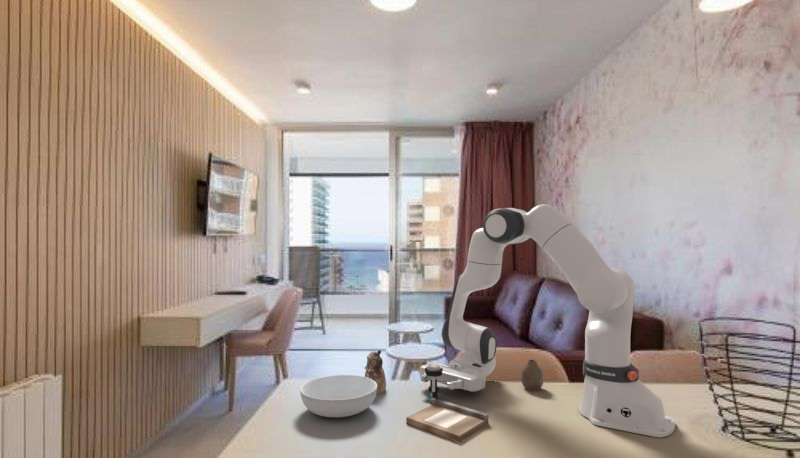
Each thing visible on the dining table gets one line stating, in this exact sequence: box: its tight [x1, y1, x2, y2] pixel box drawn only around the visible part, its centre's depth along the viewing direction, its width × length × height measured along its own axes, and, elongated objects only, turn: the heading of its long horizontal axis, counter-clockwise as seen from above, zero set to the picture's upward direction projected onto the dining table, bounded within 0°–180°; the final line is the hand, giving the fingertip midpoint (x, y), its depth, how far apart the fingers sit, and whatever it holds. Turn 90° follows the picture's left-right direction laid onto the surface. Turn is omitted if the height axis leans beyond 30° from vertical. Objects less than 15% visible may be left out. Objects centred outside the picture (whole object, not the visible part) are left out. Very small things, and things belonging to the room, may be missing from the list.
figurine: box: [364, 349, 387, 395], centre depth 138 cm, size 7×7×12 cm
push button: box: [425, 363, 443, 404], centre depth 129 cm, size 7×5×10 cm
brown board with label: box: [405, 399, 490, 443], centre depth 113 cm, size 16×14×2 cm
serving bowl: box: [299, 374, 377, 418], centre depth 121 cm, size 21×21×7 cm
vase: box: [520, 359, 545, 392], centre depth 140 cm, size 7×7×9 cm
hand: (435, 382), depth 130 cm, fingers open, 8 cm apart
